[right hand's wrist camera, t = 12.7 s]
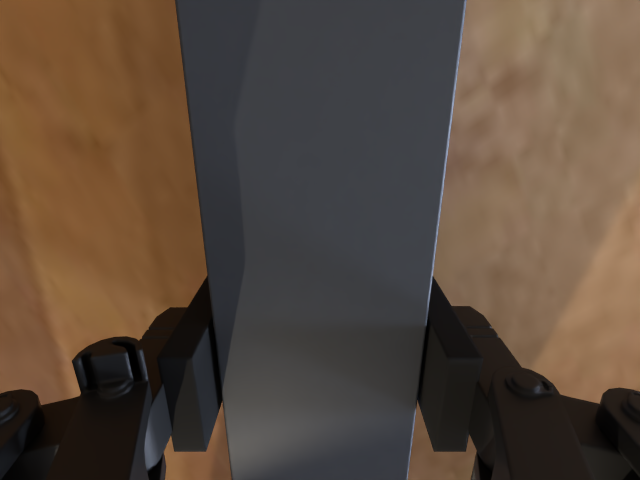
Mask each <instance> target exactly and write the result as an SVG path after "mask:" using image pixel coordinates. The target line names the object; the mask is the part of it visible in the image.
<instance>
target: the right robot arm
mask: <svg viewBox="0 0 640 480" xmlns="http://www.w3.org/2000/svg"><path fill="white" fill-rule="evenodd" d="M72 363H73V367H74V370H75V374H76V377H77V381H78V384H79V387H80V391H81V394H80V396H79V397H75V398H72V399H67V400H63V401H58V402H54V403H49V404H45V405H41V404H40V401H39V398H38V395H36V394H35V393H34V392H33V391H30V390H22V389H20V390H13V391H7V392H4V393H1V394H0V480H165V473H166V463H165V457H164V450H165V447H166V445H167V443H168V440H169V438H170V436H171V437H172V442H173V447H174V452H206V450H207V447H208V444H209V441H210V437H211V434H212V431H213V428H214V425H215V422H216V419H217V415H218V412H219V409H220V406H221V403H222V392H221V384H220V375H219V367H218V358H217V350H216V342H215V333H214V325H213V316H212V308H211V299H210V291H209V282H208V276H207V277H206V279H205V280H204V282H203V284H202V285H201V287H200V289H199V290H198V292H197V293H196V295H195V297H194V298H193V300H192V301H191V303H190V305H189V306H188V307H170V308H169V309H167V310H166V311H164V312H163V313H162V314H160V315H159V316H157V317H156V318H155V320H154V321H153V323H152V324H151V325H150V327H149V330H147V331H146V332H145V334H144V335H143V336H142V339H140V340H139V341H138V340H137V339H136V338H131V337H127V336H125V337H112V338H108V339H104V340H101V341H98V342H96V343H94V344H92V345H89V346H88V347H86V348H85V349H83V350H82V351H80V352H79V353H78V354H77V355H76V357H75V358H74V359H73V360H72ZM417 400H418V403H419V406H420V409H421V412H422V415H423V419H424V422H425V425H426V428H427V431H428V434H429V437H430V441H431V444H432V447H433V450H434V452H466V447H467V442H468V437H469V434H470V436H471V439H472V441H473V443H474V445H475V448H476V450H477V452H476V457H475V462H474V466H473V471H472V476H471V480H640V392H639V391H635V390H631V389H625V388H614V389H608V390H607V391H606V392H605V393H603V395H602V398H601V401H600V404H598V403H593V402H589V401H584V400H580V399H575V398H571V397H567V396H564V395H560V394H559V392H558V390H557V389H556V387H555V386H554V385H553V383H551V382H550V381H549V380H548V379H546V378H545V377H544V376H542V375H540V374H538V373H536V372H534V371H532V370H529V369H525V368H522V367H521V366H520V364H519V363H518V362H517V360H516V359H515V358H514V356H513V355H512V354H511V352H510V351H509V350H508V348H507V347H506V345H505V344H504V343H503V341H502V340H501V339H500V338H498V335H497V333H496V332H495V331H494V329H492V328H491V325H490V324H489V322H488V321H487V320H486V318H485V317H484V316H483V315H482V314H480V313H479V312H478V311H476V310H475V309H473V308H472V307H470V306H451V305H450V303H449V301H448V300H447V298H446V297H445V295H444V293H443V292H442V290H441V288H440V287H439V285H438V284H437V282H436V280H435V279H434V277H433V276H432V285H431V293H430V301H429V309H428V317H427V325H426V333H425V341H424V349H423V358H422V366H421V374H420V382H419V390H418V398H417Z"/></svg>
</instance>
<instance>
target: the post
mask: <svg viewBox="0 0 640 480" xmlns="http://www.w3.org/2000/svg"><path fill="white" fill-rule="evenodd" d="M175 3H176V12H177V20H178V29H179V37H180V46H181V54H182V62H183V71H184V79H185V88H186V96H187V105H188V113H189V122H190V130H191V139H192V147H193V155H194V164H195V172H196V181H197V189H198V198H199V206H200V215H201V223H202V232H203V240H204V249H205V257H206V265H207V274H208V282H209V291H210V299H211V308H212V316H213V325H214V333H215V342H216V350H217V358H218V367H219V375H220V384H221V392H222V401H223V409H224V418H225V426H226V435H227V443H228V452H229V460H230V468H231V477H232V480H407V479H408V471H409V463H410V455H411V447H412V439H413V431H414V422H415V414H416V406H417V398H418V390H419V382H420V374H421V366H422V358H423V349H424V341H425V333H426V325H427V317H428V309H429V301H430V293H431V285H432V276H433V268H434V260H435V252H436V244H437V236H438V228H439V220H440V211H441V203H442V195H443V187H444V179H445V171H446V163H447V155H448V147H449V138H450V130H451V122H452V114H453V106H454V98H455V90H456V82H457V73H458V65H459V57H460V49H461V41H462V33H463V25H464V17H465V9H466V0H175Z"/></svg>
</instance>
